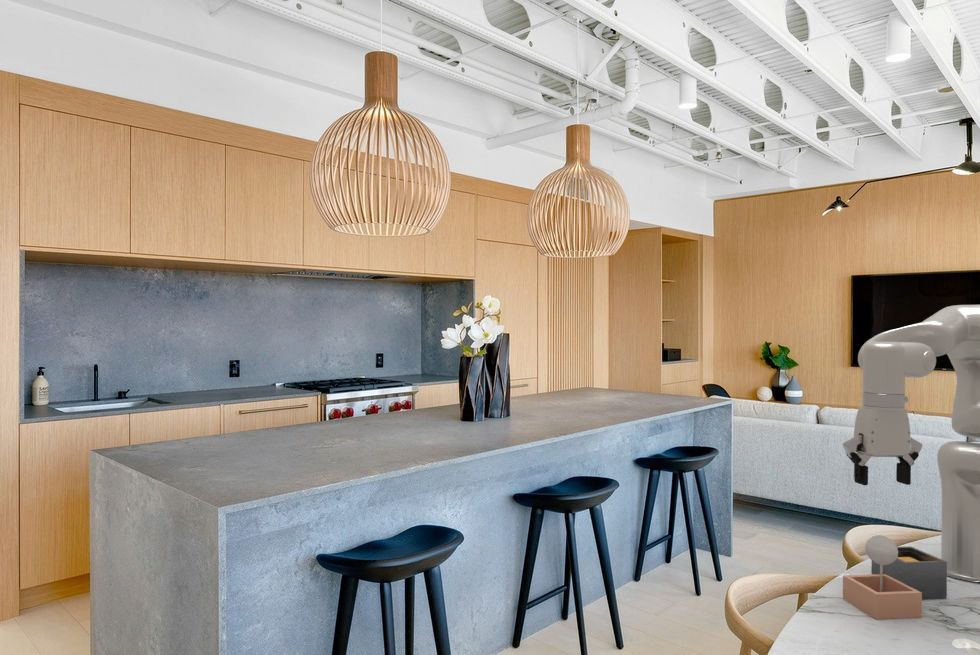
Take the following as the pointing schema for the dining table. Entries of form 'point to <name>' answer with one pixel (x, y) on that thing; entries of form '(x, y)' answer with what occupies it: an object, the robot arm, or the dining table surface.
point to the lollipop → (881, 552)
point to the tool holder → (882, 596)
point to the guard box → (918, 572)
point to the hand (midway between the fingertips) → (882, 483)
